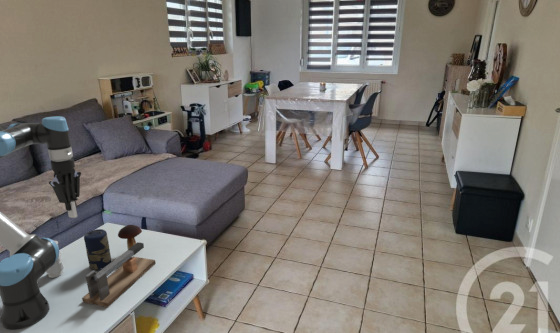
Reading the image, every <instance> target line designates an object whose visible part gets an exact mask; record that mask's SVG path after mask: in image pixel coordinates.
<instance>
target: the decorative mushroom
mask: <svg viewBox="0 0 560 333" xmlns="http://www.w3.org/2000/svg"><path fill="white" fill-rule="evenodd" d="M142 232H143V230H142V228H141V227H140V226H138V225H136V224H135V225H134V224H127V225H125V226H123V227H121V229H119V231H118V233H117V237H118V238H120V239H122V240H126V244H127V246H126V247H127V250H128V249H129V248H131V247H132V246H133V245H135V244H136V243H137V241H136V237H138V236H139V235H140V234H141V233H142Z"/></svg>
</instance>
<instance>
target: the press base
mask: <svg viewBox="0 0 560 333" xmlns="http://www.w3.org/2000/svg"><path fill="white" fill-rule="evenodd" d="M155 265H156V260H155V259H153V258H152V259H151V258H143V257H140V256H132V257H131V258H129V259H128V260H127V261H126V262H124V263H123V264H122V265H121V266H119V267H118V268H117V269H115V270H114V271H113V272H112V273H110V274H109V275H108V276H107V275H106V273H105V272H103V273H102V274H101V275H99V276H98V277H97V278H96V280H97V281H92V280H91V277H92V276H93V275H95V274H96V273H97V272H96V270H94V269H92V270H91V271H90V272H88V273H87V274H86V275H85V279H86V284H87V285H86V286H87V289H88V290H87V291H88V292H87V293H86V294H85V295H84V296H83V297H81V300H82V303H85V304H89V305H94V306H99V307H105V308H109V307H110V306H111V305H112V304H113V303H115V301H117V300H118V299H119V298H120V297H121V296H122V295H123V294H124V293H126V291H128V290H129V289H130V288H131V287H132V286H133V285H134V284H135V283H136V282H137V281H138V280H139V279H140V278H142V277H143V276H144V275H145V274H146V273H147V272H148V271H150V269H151V268H153V267H154V266H155Z"/></svg>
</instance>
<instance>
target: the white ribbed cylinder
mask: <svg viewBox="0 0 560 333" xmlns="http://www.w3.org/2000/svg"><path fill="white" fill-rule="evenodd" d="M53 241H54V242H55V243H56V244H57V245H58V248H60V247H59V241H58V240H53ZM45 273H46V274H47V276H48V278H51V279H53V278H57V277H60V276H62V274H64V264H63V258H62V254H61V252H60V251H59V257H58V259H57V260H56V262H55V263H54V265H52V266H51V267H50V268H49V269H48V270H47V271H46V272H45Z"/></svg>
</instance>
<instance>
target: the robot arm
mask: <svg viewBox="0 0 560 333" xmlns="http://www.w3.org/2000/svg"><path fill="white" fill-rule="evenodd" d="M69 130H70V128H69V126H68V124H67V119H66V118H65V116H60V115H59V116H57V115H56V116H48V117H47V116H46V117H44V118H42V119H41V122H28V123H27V122H26V123H25V122H17V123H11V124H10V125H9V126H8V127H7V128H6V129H3V130H0V160H1V159H3V158H5V157H6V156H8V155H10V154H12V153H13V152H16V151H18V150H20V149H23V148H26V147H27V146H30V145H45V144H46V147H47V151H48V152H47V153H48V156H49V160H50V166H51V170H52V171H53V179H52V180H50V181H48V185H49V186H51V187H52V189H53V191H54V192H53V193H55V194H54V195H55V196H56V198H57V201H58V203H62V204H64V207H65V210H66V211H67V214H68V218H72V219H75V218H77V217H78V213H77V201H78V200H79V199H78V198H80V193H81V192H80V188H81V187H80V186H81V183H80V182H81V175H82V172H81V171H77V170H76V168H75V167H76V164H75V158H73V156H74V154H73V153H74V152H73V149H72V143H71V138H70V132H69ZM54 241H55V240H53V239H52V238H49V237H39V236H38V235H37V234H29V233H28V232H26V231H25V230H24V229H22V227H20V226H19V225H18V224H17V223H15V222H14V221H13V220H11V219H10V218H9V217H7V215H6V214H4V213H3V212H2V211H0V246H2V247H3V248H4V249H6V250H7V251H8V252H9V256H8V257H5V258H4V259H2V260H1V261H0V299H1V302H2V308H1V309H2V310H1V316H0V322H1V325H2V327H3V328H4V329H8V330H19V329H23V328H26V327H30V326H32V325H34V324H36V323H38V322H40V321H41V320H42V319H44V317H46V316H47V314H48V313H49V311H50V304H49V301H48V300H47V299H46V297H45V296H44V294H42V292H41V291H40V286H39V283H38V281H39V279H41V278H42V277H43V275H45V273H46V271H47V270H48V269H49V268H50V267H51V266H52V265H54V263H55V262H56V260H57V259H58V257H59V252H60V249H59V248H60V247H59V244H58V245H57V244H56V243H55V242H54ZM58 247H59V248H58Z"/></svg>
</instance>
